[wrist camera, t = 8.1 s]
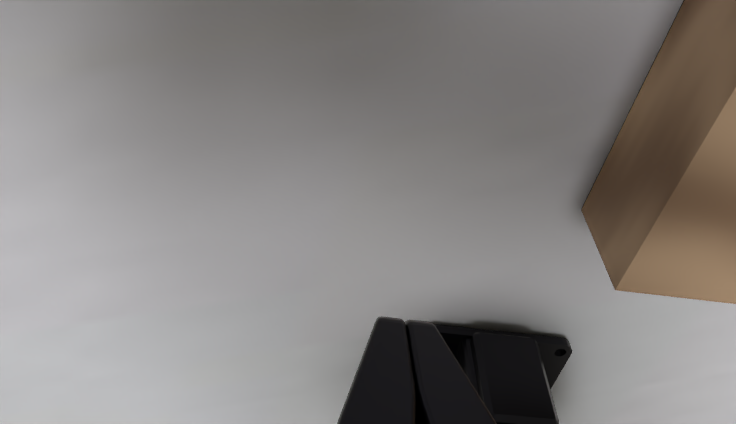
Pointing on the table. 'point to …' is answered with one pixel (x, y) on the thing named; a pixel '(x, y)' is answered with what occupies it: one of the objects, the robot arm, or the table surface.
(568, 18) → the table surface
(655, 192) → the walnut deck
